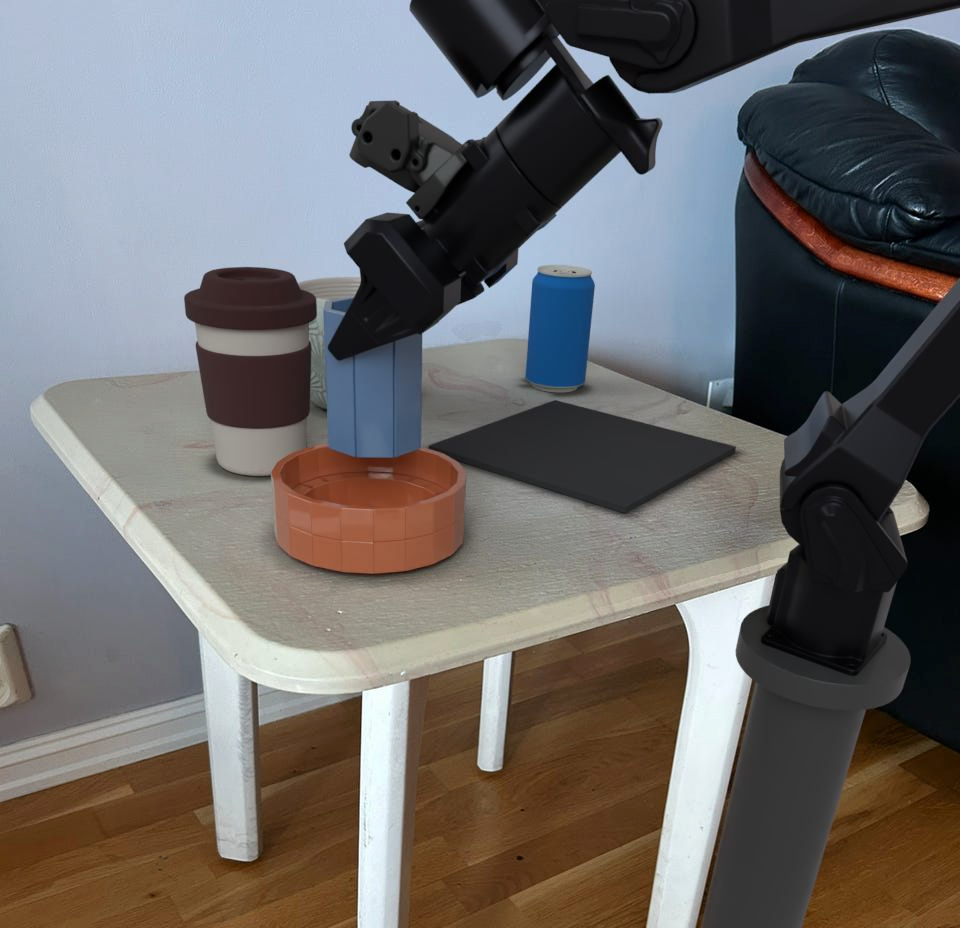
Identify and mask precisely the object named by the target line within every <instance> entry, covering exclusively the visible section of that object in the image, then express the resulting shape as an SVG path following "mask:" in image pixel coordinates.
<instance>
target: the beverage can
mask: <svg viewBox="0 0 960 928" xmlns="http://www.w3.org/2000/svg"><path fill="white" fill-rule="evenodd" d="M536 270H537V273H536V274H535V275H534V276H533V278H532V281H531V293H530V309H529V322H528V334H527V335H528V337H527V350H526V361H525V362H526V364H525V376H524V377H525V380H526V381H527V382H529V383H530V384H531V386H532V388H534V389H536V390H539V391H543V392H548V393H557V394H560V393H563V394H564V393H572V392H575V391H576V390H577V389H578V388H579V387H580V386H583V385H584V384H585V382H586V378H587V377H586V376H587V367H588V356H589V349H590V338H591V328H592V319H593V308H594V299H595V298H594V297H595V289H596V285H595V281H594V279H593V277H592V274H593V271H592V270H591V269H589V268H586V267H583V266H577V265H568V264H567V265H566V264H547V265H541V266H538V267H537V269H536Z"/></svg>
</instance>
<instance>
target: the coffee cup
mask: <svg viewBox="0 0 960 928" xmlns="http://www.w3.org/2000/svg"><path fill="white" fill-rule="evenodd" d="M298 283H299V282H298V280H297V278H296V276H295V275H294V274H293V273H292V272H290V271H287V270H284V269H278V268H270V267H260V266H258V267H257V266H235V267H234V266H232V267H231V266H230V267H222V268H216V269H211V270H209V271H207V272H205V273H204V274H203V275H202V279H201V283H200V285H199V288H196V289H193V290H190V291H188V292H187V293H185V294H184V295H183V296H184V297H183V301H184V311H185V316H186V318H187V319H188V320H189V321H191V322H193V323H194V327H195V332H196V339H197V340H196V342H195V352H196V358H197V364H198V369H199V375H200V382H201V387H202V394H203V400H204V407H205V412H206V415H207V418H209V420H210V426H211V432H212V439H213V444H214V451H215V457H216V461H217V464H219V466H220V467H221V468H223V469H224V470H226V471H228V472H230V473H233V474H236V475H241V476H248V477H249V476H251V477H269V476H270V477H271V471H272V470H273V468H274V466H275V465H276V463H277V462H278V461H279V460H281V459H283V458H284V457H286V456H288V455H289V454H291V453H293V452H296V451H299V450H302V449H306V448H307V432H308V431H307V430H308V429H307V427H308V417H309V415H310V410H311V401H310V384H311V351H312V346H311V342H310V341H309V322H312V321H313V320H315V319H316V317H317V302H316V297H315V296H314V295H313V294H312V293H310V292H308V291H305V290H302V289H300V287H299V285H298Z"/></svg>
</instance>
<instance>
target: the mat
mask: <svg viewBox="0 0 960 928" xmlns="http://www.w3.org/2000/svg"><path fill="white" fill-rule="evenodd" d="M427 448H428V449H431V450H434V451H437V452H440V453H443V454H445V455H447V456H449V457H450V458H452V459H454V460H456V461H457V462H459V463H460V462H461V463H463V464H466V465H469V466H473V467H476V468H479V469H482V470H485V471H489V472H492V473H495V474H499V475H502V476H505V477H508V478H512V479H514V480H517V481H521V482H524V483H527V484H530V485H532V486H533V485H534V486H536V487H540V488H542V489H546V490H548V491H552V492H556V493H559V494H562V495H565V496H568V497H571V498H575V499H578V500H581V501H584V502H588V503H591V504H594V505H597V506H600V507H603V508H607V509H610V510H613V511H616V512H619V513H622V514H627V513H629V512H630V511H632V510H635V509H636V508H638V507H639V506H641V505H643V504H645V503H647V502H649V501H651V500H652V499H654V498H656V497H659V496H660V495H661V494H663V493H665V492H667V491H669V490H670V489H672V488H674V487H676V486H677V485H680V484H681V483H684V482H685V481H686V480H688V479H690V478H692V477H693V476H696V475H697V474H699V473H701V472H703V471H704V470H706V469H708V468H710V467H712V466H713V465H716V463H718V462H719V463H720V461H722V460H724V459H727V458H728V457H730V456H731V455H733V454H736V451H737V450H736V449H737V447H736V446H735V445H733V444H732V445H731V444H729V443H728V444H727V443H724V442H719V441H716V440H713V439H708V438H705V437H700V436H698V435H693V434H689V433H685V432H681V431H678V430H673V429H670V428H665V427H662V426H657V425H653V424H650V423H646V422H642V421H638V420H634V419H631V418H626V417H623V416H619V415H615V414H611V413H608V412H604V411H601V410H595V409H591V408H587V407H584V406H580V405H576V404H574V403H573V404H572V403H569V402H564V401H561V400H556V399H554V400H551V401H549V402H545V403H542V404H540V405H537V406H534V407H532V408H529V409H526V410H523V411H521V412H518V413H514V414H512V415H510V416H506V417H504V418H501V419H498V420H495V421H493V422H490V423H487V424H484V425H481V426H478V427H476V428H473V429H471V430H468V431H464V432H462V433H459V434H457V435H454V436H451V437H448V438H446V439H442V440H440V441H437V442H434V443H431V444H429V445H428V447H427Z"/></svg>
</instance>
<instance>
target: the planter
mask: <svg viewBox="0 0 960 928" xmlns="http://www.w3.org/2000/svg"><path fill="white" fill-rule="evenodd" d="M297 283H298V285H299V287H300V289H302V290H305V291H308V292H310V293H312V294H313V295H314V296H315V297H316V302H317V317H316V319H315V320H313V321H312V322H309V341H310V342H311V346H312V351H311V384H310V402H312V403H313V404H314V405H316V406H318V407H319V408H321V409H324V410H327V399H326V371H325V343H324V315H323V309H324V303H325V301H329V300H335V299H341V298H346V297H354V296H355V294H356V292H357V290H358V288H359V286H360V283H361V277H357V276H338V277H337V276H336V277H333V276H332V277H322V278H312V279H307V280H303V281H300V282H297Z"/></svg>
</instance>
